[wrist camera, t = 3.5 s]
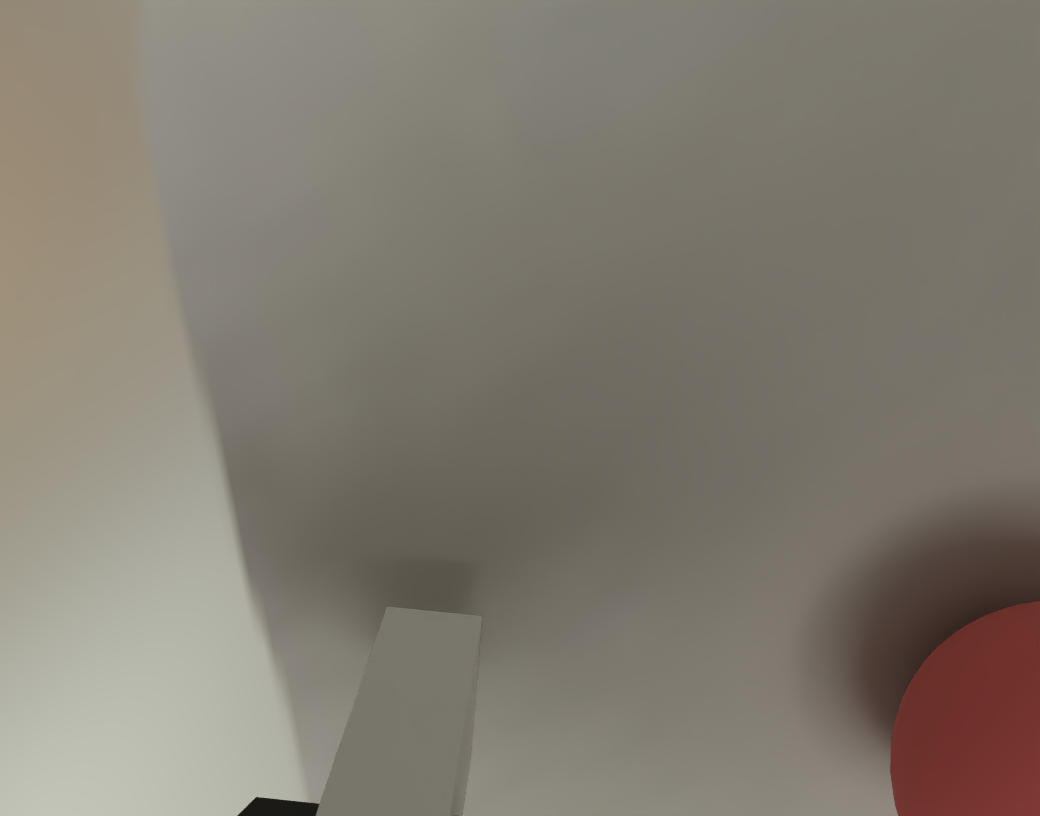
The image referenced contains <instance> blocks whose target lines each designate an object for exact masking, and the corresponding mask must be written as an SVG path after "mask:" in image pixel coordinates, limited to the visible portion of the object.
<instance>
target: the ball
mask: <svg viewBox="0 0 1040 816" xmlns="http://www.w3.org/2000/svg"><path fill="white" fill-rule="evenodd" d="M890 773H891V781H892V788H893V794H894V800H895V806H896V809H897V812H898V816H1040V601H1035V602H1029V603H1023V604H1018V605H1014V606H1011V607H1007V608H1004V609H1000V610H998V611H995V612H993V613H990V614H987V615H985V616H983V617H981V618H979V619H977V620H975V621H973V622H971V623H969V624H967V625H965V626H964V627H962V628H961V629H959V630H958V631H956V632H955V633H953V634H952V635H951V636H949V637H948V638H947V639H946V640H945V641H943V642H942V643H941V644H940V645H939V646H938V647H937V648H936V649H935V650H934V651H933V652H932V653H931V654H930V655H929V656H928V657H927V658H926V659H925V661H924V662H923V664H922V665H921V666H920V668H919V669H918V670H917V672H916V673H915V675H914V677H913V678H912V680H911V682H910V684H909V686H908V687H907V689H906V691H905V693H904V695H903V698H902V700H901V703H900V706H899V709H898V712H897V715H896V719H895V723H894V728H893V733H892V738H891V764H890Z"/></svg>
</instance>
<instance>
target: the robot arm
mask: <svg viewBox="0 0 1040 816" xmlns="http://www.w3.org/2000/svg"><path fill="white" fill-rule="evenodd" d="M481 626H482V616H477V615H467V614H458V613H448V612H438V611H428V610H418V609H408V608H398V607H389V606H387V608H386V611H385V614H384V617H383V620H382V622H381V625H380V628H379V631H378V634H377V637H376V640H375V643H374V646H373V649H372V652H371V655H370V658H369V661H368V664H367V666H366V669H365V672H364V675H363V678H362V681H361V684H360V687H359V690H358V693H357V696H356V699H355V702H354V705H353V708H352V710H351V713H350V716H349V719H348V722H347V725H346V728H345V731H344V734H343V737H342V740H341V743H340V746H339V749H338V752H337V754H336V757H335V760H334V763H333V766H332V769H331V772H330V775H329V778H328V781H327V784H326V787H325V790H324V793H323V796H322V798H321V801H320V804H316V803H307V802H297V801H287V800H278V799H269V798H259V797H256V798H255V799H254V800H253V801H252V802H251V803H250V804H249V805H248V806H247V807H246V808H245V809H244V810H243V811H242V812H241V813H240V814H239V815H238V816H462V815H463V808H464V801H465V794H466V787H467V780H468V773H469V767H470V760H471V751H472V738H473V726H474V713H475V701H476V688H477V676H478V663H479V651H480V638H481Z"/></svg>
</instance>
